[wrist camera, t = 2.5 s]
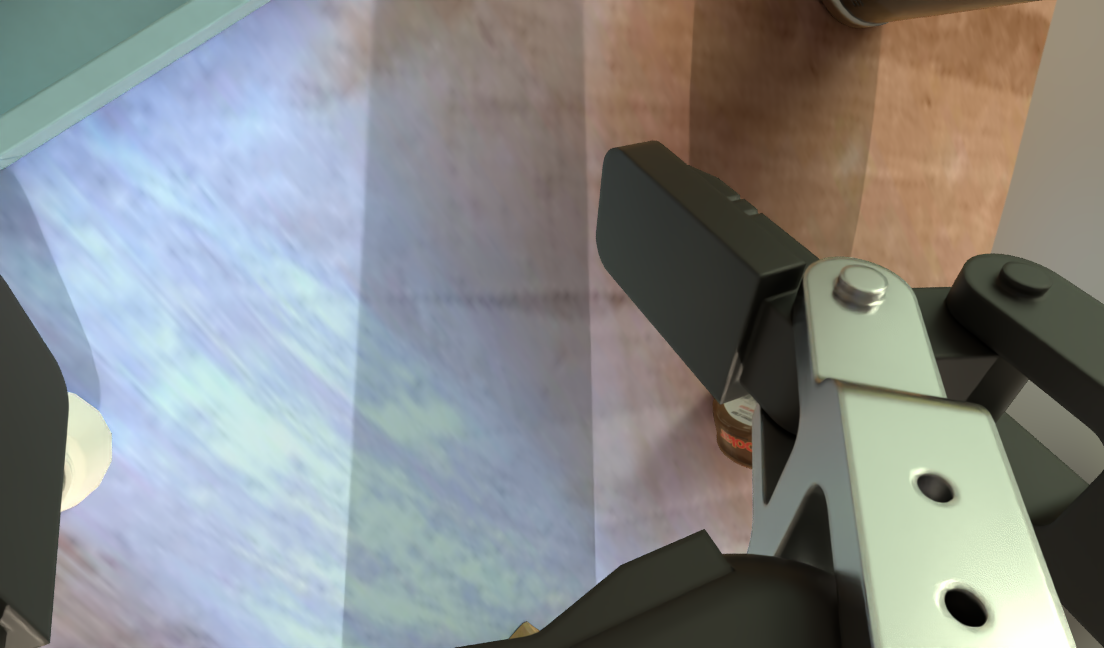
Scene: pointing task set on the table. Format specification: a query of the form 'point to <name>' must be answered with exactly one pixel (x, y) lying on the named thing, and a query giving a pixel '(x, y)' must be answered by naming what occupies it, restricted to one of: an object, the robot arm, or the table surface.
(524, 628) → the sandwich container
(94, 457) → the cream truncated cone
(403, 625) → the table surface
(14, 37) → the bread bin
